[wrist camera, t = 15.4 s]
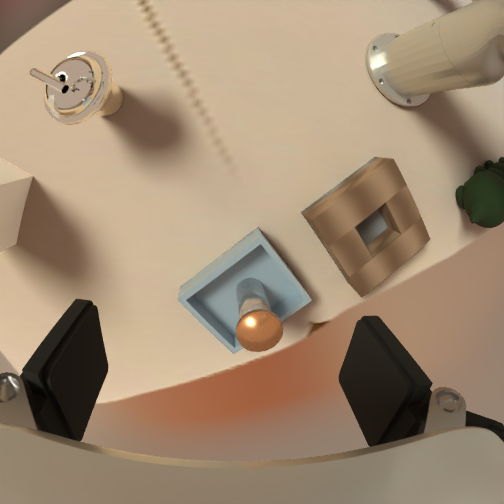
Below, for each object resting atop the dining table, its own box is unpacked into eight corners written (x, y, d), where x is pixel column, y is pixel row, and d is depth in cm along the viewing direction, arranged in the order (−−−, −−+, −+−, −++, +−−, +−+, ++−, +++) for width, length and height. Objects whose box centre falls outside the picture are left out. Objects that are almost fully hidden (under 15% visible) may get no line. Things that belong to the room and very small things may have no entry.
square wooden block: (374, 157, 39) (393, 158, 34) (411, 230, 43) (430, 239, 38) (301, 212, 40) (312, 220, 35) (347, 282, 45) (361, 297, 40)
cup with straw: (121, 60, 30) (53, 2, 12) (149, 109, 33) (86, 72, 15) (72, 96, 31) (-18, 70, 12) (98, 145, 34) (7, 146, 15)
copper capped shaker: (253, 266, 41) (265, 305, 31) (274, 292, 43) (291, 334, 33) (224, 288, 42) (226, 331, 31) (246, 312, 44) (255, 358, 33)
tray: (257, 227, 40) (262, 235, 37) (304, 288, 44) (312, 300, 40) (180, 286, 42) (177, 299, 38) (232, 338, 46) (233, 354, 42)
